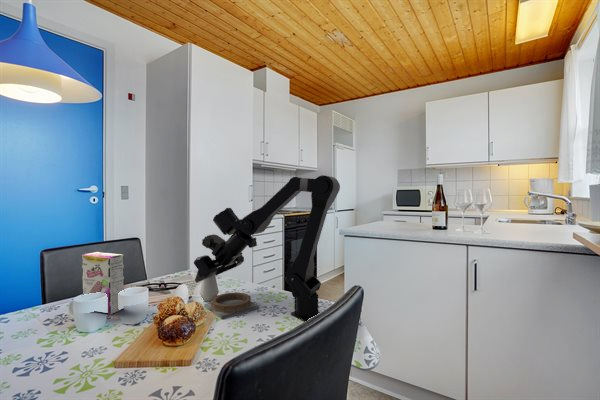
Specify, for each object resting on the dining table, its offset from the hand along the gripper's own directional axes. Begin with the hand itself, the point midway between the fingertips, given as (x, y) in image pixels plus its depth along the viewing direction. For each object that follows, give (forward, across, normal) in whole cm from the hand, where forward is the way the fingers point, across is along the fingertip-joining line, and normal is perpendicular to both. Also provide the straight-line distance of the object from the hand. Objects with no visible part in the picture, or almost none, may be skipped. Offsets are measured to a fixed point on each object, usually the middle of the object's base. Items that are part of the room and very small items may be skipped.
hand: (205, 277), depth 96 cm
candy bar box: (+20, +19, -10) cm, 29 cm away
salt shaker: (+4, 0, +6) cm, 7 cm away
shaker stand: (-4, +3, +13) cm, 14 cm away
